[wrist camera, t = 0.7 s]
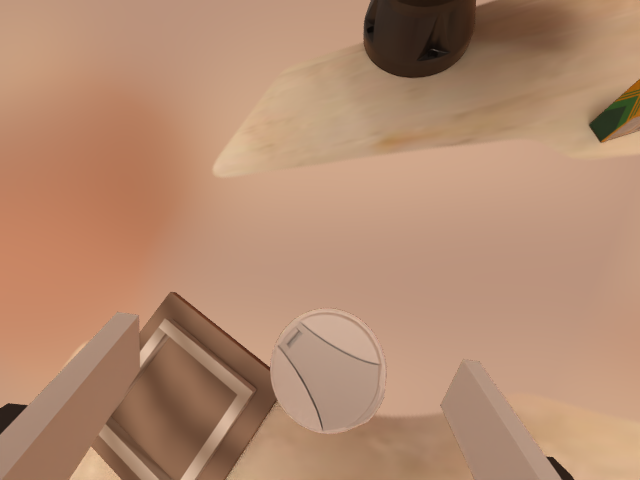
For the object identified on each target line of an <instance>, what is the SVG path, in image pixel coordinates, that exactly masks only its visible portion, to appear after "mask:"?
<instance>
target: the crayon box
mask: <svg viewBox="0 0 640 480" xmlns="http://www.w3.org/2000/svg"><path fill="white" fill-rule="evenodd" d="M589 126H590V127H591V128H592V130H593V131H594V133H595V134H596V136H597V137H598V139H599V140H600V142H605V141H607V140H610V139H613V138H616V137H620V136H623V135H626V134H629V133H632V132H635V131H639V130H640V79H639V80H638V81H637V82H636V83H635V84H634V85H632V86H631V87H630V88H629V89H628V90H627V91H626V92H625V93H624V94H622V95H621V96H620V97H619V98H618V99H617V100H616V101H615V102H614V103H613V104H611V105H610V106H609V107H608V108H607V109H606V110H605V111H604V112H602V113H601V114H600V115H599V116H598V117H597V118H596V119H595V120H594V121H593V122H591V123H590V125H589Z"/></svg>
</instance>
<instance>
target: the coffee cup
mask: <svg viewBox="0 0 640 480" xmlns="http://www.w3.org/2000/svg"><path fill="white" fill-rule="evenodd" d="M270 374H271V382H272V387H273V390H274V393H275V396H276V398H277V400H278V402H279V404H280V405H281V407H282V408H283V410H284V411H285V412H286V414H287V415H288V416H289V417H290V418H291V419H293V420H294V421H295V422H296V423H298V424H299V425H301V426H302V427H304V428H306V429H309V430H311V431H314V432H318V433H325V434H335V433H341V432H345V431H349V430H351V429H353V428H355V427H357V426H359V425H362V424H364V423H367V422H368V421H369V420H370V419H371V418H372V417H373V416H374V414H375V413H376V412H377V410H378V409H379V407H380V405H381V403H382V401H383V399H384V392H385V383H386V362H385V356H384V353H383V350H382V347H381V345H380V343H379V341H378V338H377V337H376V335H375V334H374V333H373V331H372V330H371V329H370V328H369V327H368V326H367V324H366V323H364V322H363V321H361V319H359V318H358V317H356V316H354V315H353V314H351V313H348V312H346V311H343V310H339V309H334V308H321V309H315V310H311V311H308V312H306V313H304V314H302V315H300V316H298V317H297V318H295V319H294V320H293V321H291V322H290V323H289V324H288V325H287V326H286V328H285V329H284V330H283V331H282V333H281V334H280V336H279V338H278V339H277V341H276V344H275V346H274V349H273V352H272V357H271V365H270Z"/></svg>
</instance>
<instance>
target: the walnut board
mask: <svg viewBox="0 0 640 480" xmlns="http://www.w3.org/2000/svg"><path fill="white" fill-rule="evenodd" d="M139 339H140V371H139V373H138V374H137V376H136V377H135V379H134V380H133V382H132V383H131V385H130V387H129V388H128V390H127V391H126V393H125V394H124V396H123V397H122V399H121V400H120V402H119V403H118V405H117V407H116V408H115V410H114V411H113V413H112V414H111V416H110V417H109V419H108V420H107V422H106V423H105V425H104V427H103V428H102V430H101V431H100V433H99V434H98V436H97V437H96V439H95V440H94V442H93V443H92V445H91V447H92V448H93V449H94V450H95V451H96V452H97V453H98V454H99V455H100V456H101V457H102V459H103V460H104V461H105V462H106V463H107V464H108V465H109V466H110V467H111V468H112V469H113V470H114V472H115V473H116V474H117V475H118V476H119V477H120V478H121V479H122V480H225V479H226V477H227V476H228V474H229V472H230V471H231V469H232V468H233V466H234V465H235V463H236V462H237V460H238V459H239V457H240V456H241V454H242V452H243V451H244V449H245V448H246V446H247V445H248V443H249V442H250V440H251V439H252V437H253V436H254V434H255V433H256V431H257V429H258V428H259V426H260V425H261V423H262V422H263V420H264V419H265V417H266V416H267V414H268V413H269V411H270V409H271V408H272V406H273V405H274V403H275V402H276V400H277V398H276V396H275V393H274V390H273V387H272V382H271V374H270V367H269V366H267V365H266V364H265V363H263V362H262V361H261V360H260V359H258V358H257V357H256V356H255V355H253V354H252V353H251V352H249V351H248V350H247V349H246V348H245V347H243V346H242V345H241V344H240V343H238V342H237V341H236V340H235V339H233V338H232V337H231V336H230V335H228V334H227V333H226V332H225V331H223V330H222V329H221V328H220V327H218V326H217V325H216V324H215V323H213V322H212V321H211V320H210V319H208V318H207V317H206V316H205V315H203V314H202V313H201V312H200V311H198V310H197V309H196V308H195V307H193V306H192V305H191V304H190V303H188V302H187V301H186V300H185V299H183V298H182V297H181V296H180V295H178V294H177V293H175V292H170V293H169V294H168V296H167V297H166V299H165V300H164V301H163V302H162V304H161V305H160V306H159V308H158V309H157V310H156V312H155V313H154V314H153V316H152V317H151V318H150V320H149V321H148V322H147V324H146V325H145V326H144V327H143V329H142V330H141V332H140V333H139Z"/></svg>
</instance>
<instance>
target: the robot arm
mask: <svg viewBox="0 0 640 480" xmlns="http://www.w3.org/2000/svg"><path fill="white" fill-rule="evenodd" d="M475 12H476V0H371V2H370V4H369V7H368V10H367V13H366V16H365V21H364V46H365V49H366V52H367V54H368V55H369V57H370V58H371V60H372V61H373V62H374V63H375V64H376V65H378V66H379V67H380V68H382V69H384V70H385V71H388V72H390V73H392V74H396V75H400V76H406V77H421V76H428V75H432V74H435V73H438V72H441V71H443V70H445V69H447V68H448V67H450V66H451V65H453V64H454V63H455V62H457V61H458V60H459V59H460V57H461V56H462V55H463V54H464V52H465V51H466V49H467V46H468V44H469V41H470V39H471V36H472V34H473V30H474V26H475ZM139 371H140V339H139V315H136V314H129V313H121V312H117V313H116V314H115V315H114V316H113V317H112V318H111V319H110V320H109V321H108V322H107V323H106V324H105V326H104V327H103V328H102V329H101V330H100V331H99V332H98V333H97V334H96V335H95V336H94V337H93V338H92V339H91V340H90V341H89V342H88V343H87V344H86V345H85V346H84V348H83V349H82V350H81V351H80V352H79V353H78V354H77V355H76V356H75V357H74V358H73V359H72V360H71V361H70V362H69V363H68V364H67V365H66V366H65V367H64V369H63V370H62V371H61V372H60V373H59V374H58V375H57V376H56V377H55V378H54V379H53V380H52V381H51V382H50V383H49V384H48V385H47V386H46V387H45V388H44V390H43V391H42V392H41V393H40V394H39V395H38V396H37V397H36V398H35V399H34V400H33V401H32V402H31V403H30V404H29V405H19V404H10V403H8V404H6V405H5V406H3V407H2V408H0V480H69V479H70V477H71V476H72V474H73V473H74V471H75V470H76V468H77V467H78V465H79V463H80V462H81V460H82V459H83V457H84V456H85V454H86V453H87V451H88V450H89V448H90V447H91V445H92V443H93V442H94V440H95V439H96V437H97V436H98V434H99V433H100V431H101V430H102V428H103V427H104V425H105V423H106V422H107V420H108V419H109V417H110V416H111V414H112V413H113V411H114V410H115V408H116V407H117V405H118V403H119V402H120V400H121V399H122V397H123V396H124V394H125V393H126V391H127V390H128V388H129V387H130V385H131V383H132V382H133V380H134V379H135V377H136V376H137V374H138V373H139ZM440 406H441V408H442V410H443V412H444V414H445V416H446V419H447V421H448V423H449V425H450V427H451V430H452V432H453V434H454V436H455V438H456V440H457V443H458V445H459V447H460V449H461V451H462V454H463V456H464V458H465V460H466V462H467V464H468V467H469V469H470V471H471V473H472V475H473V478H474V480H574V479H573V477H572V476H571V475H570V474H569V473H568V472H567V471H566V470H565V469H564V468H563V467H562V466H561V465H560V464H559V463H558V462H557V461H556V460H555V459H554V458H553V457H546V456H545V455H544V453H543V452H542V450H541V449H540V447H539V446H538V445H537V443H536V442H535V440H534V439H533V437H532V436H531V435H530V433H529V432H528V430H527V429H526V427H525V426H524V425H523V423H522V422H521V420H520V419H519V417H518V416H517V414H516V413H515V412H514V410H513V409H512V407H511V406H510V404H509V403H508V402H507V400H506V399H505V397H504V396H503V394H502V393H501V392H500V390H499V389H498V387H497V386H496V384H495V383H494V382H493V380H492V379H491V377H490V376H489V374H488V373H487V372H486V370H485V369H484V367H483V366H482V365H481V363H480V362H479V361H473V360H465V359H463V360H462V362H461V364H460V366H459V368H458V370H457V373H456V374H455V376H454V379H453V380H452V383H451V385H450V387H449V389H448V391H447V393H446V395H445V397H444V399H443V401H442V403H441V405H440Z"/></svg>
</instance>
